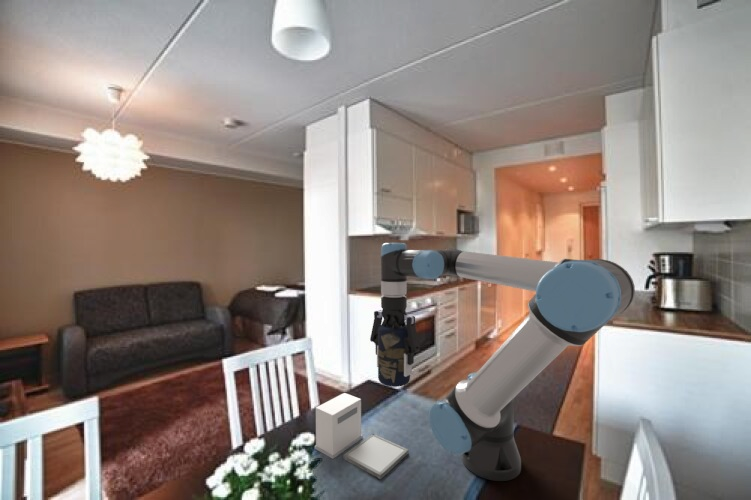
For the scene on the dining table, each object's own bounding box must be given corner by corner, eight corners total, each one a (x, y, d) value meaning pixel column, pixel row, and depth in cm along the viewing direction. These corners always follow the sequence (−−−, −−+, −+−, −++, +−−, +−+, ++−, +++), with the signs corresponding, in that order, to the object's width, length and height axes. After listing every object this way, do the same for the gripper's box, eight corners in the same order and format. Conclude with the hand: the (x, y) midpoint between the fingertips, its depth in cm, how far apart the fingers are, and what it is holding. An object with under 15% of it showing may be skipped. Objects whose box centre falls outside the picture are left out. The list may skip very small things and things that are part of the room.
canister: (372, 385, 95) (372, 324, 94) (385, 373, 103) (385, 317, 103) (403, 392, 91) (403, 327, 90) (414, 379, 99) (414, 320, 99)
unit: (362, 437, 100) (362, 398, 100) (333, 459, 90) (332, 416, 90) (344, 429, 105) (344, 392, 105) (314, 448, 95) (314, 407, 95)
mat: (408, 453, 92) (408, 449, 92) (380, 479, 82) (380, 475, 82) (372, 436, 100) (372, 433, 100) (343, 458, 90) (343, 454, 90)
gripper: (433, 297, 92) (432, 376, 92) (374, 290, 106) (374, 358, 107) (417, 301, 86) (417, 385, 87) (358, 292, 101) (358, 364, 101)
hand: (393, 370), depth 97 cm, fingers closed on canister, 9 cm apart
